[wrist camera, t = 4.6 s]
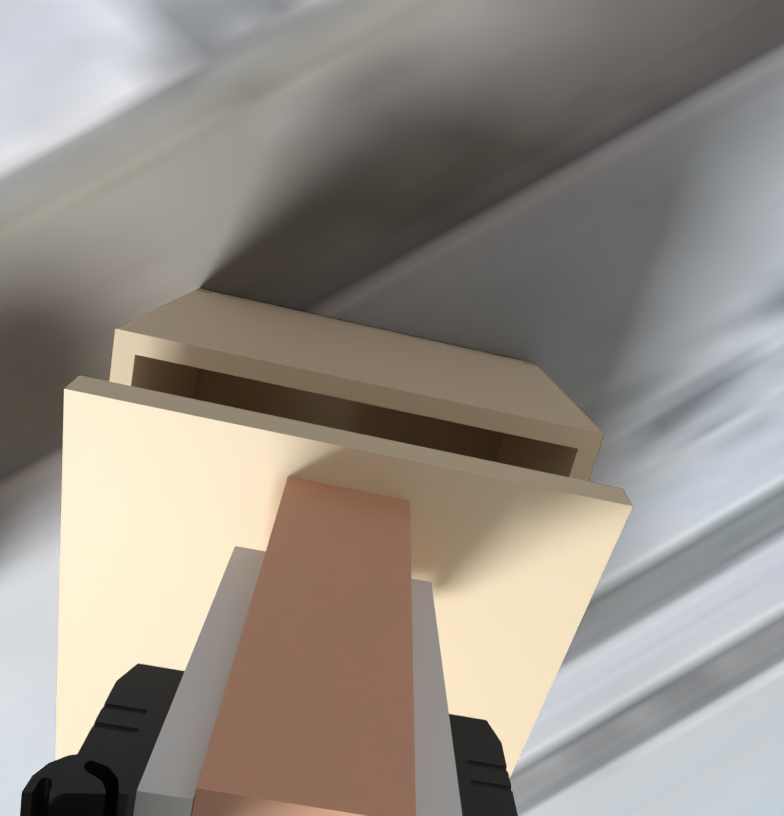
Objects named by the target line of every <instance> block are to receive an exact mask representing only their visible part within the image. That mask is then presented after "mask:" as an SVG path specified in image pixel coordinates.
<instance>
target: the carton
mask: <svg viewBox="0 0 784 816" xmlns="http://www.w3.org/2000/svg"><path fill="white" fill-rule="evenodd" d="M109 382H114V383H119V384H124V385H129V386H133V387H138V388H143V389H148V390H152V391H157V392H162V393H167V394H172V395H176V396H181V397H186V398H191V399H196V400H200V401H205V402H210V403H215V404H220V405H224V406H229V407H234V408H239V409H244V410H248V411H253V412H258V413H263V414H267V415H272V416H277V417H282V418H287V419H291V420H296V421H301V422H306V423H311V424H315V425H320V426H325V427H330V428H335V429H339V430H344V431H349V432H354V433H359V434H363V435H368V436H373V437H378V438H382V439H387V440H392V441H397V442H402V443H406V444H411V445H416V446H421V447H426V448H430V449H435V450H440V451H445V452H450V453H454V454H459V455H464V456H469V457H473V458H478V459H483V460H488V461H493V462H497V463H502V464H507V465H512V466H517V467H521V468H526V469H531V470H536V471H541V472H545V473H550V474H555V475H560V476H565V477H569V478H574V479H579V480H584V481H589V478H590V475H591V472H592V469H593V466H594V463H595V460H596V457H597V454H598V451H599V448H600V445H601V442H602V439H603V436H604V433H603V432H602V431H601V430H600V429H599V428H598V427H597V426H596V425H595V424H594V423H593V422H592V421H591V420H590V419H589V418H588V417H587V416H586V415H585V414H584V413H583V412H582V411H581V410H580V409H579V408H578V407H577V406H576V405H575V404H574V402H573V401H572V400H571V399H570V398H569V397H568V396H567V395H566V394H565V393H564V392H563V391H562V390H561V389H560V388H559V387H558V386H557V385H556V384H555V383H554V382H553V381H552V380H551V379H550V378H549V377H548V376H547V375H546V374H545V373H544V372H543V371H542V370H541V369H540V368H539V367H538V366H537V365H536V364H535V363H532V362H527V361H523V360H519V359H514V358H510V357H505V356H501V355H496V354H492V353H487V352H483V351H478V350H474V349H469V348H465V347H460V346H456V345H451V344H447V343H442V342H438V341H433V340H429V339H424V338H420V337H415V336H411V335H406V334H402V333H397V332H393V331H388V330H384V329H379V328H375V327H370V326H366V325H361V324H357V323H352V322H348V321H343V320H339V319H334V318H330V317H325V316H321V315H316V314H312V313H307V312H303V311H298V310H294V309H289V308H285V307H280V306H276V305H271V304H267V303H262V302H258V301H253V300H249V299H244V298H240V297H235V296H231V295H226V294H222V293H217V292H213V291H208V290H204V289H197V290H194V291H192V292H190V293H188V294H186V295H184V296H182V297H180V298H178V299H176V300H174V301H172V302H170V303H167V304H165V305H163V306H161V307H159V308H157V309H155V310H153V311H151V312H149V313H147V314H145V315H143V316H140V317H138V318H136V319H134V320H132V321H130V322H128V323H126V324H124V325H122V326H120V327H118V328H116V329H115V335H114V344H113V353H112V362H111V371H110V380H109Z"/></svg>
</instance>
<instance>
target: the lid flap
mask: <svg viewBox="0 0 784 816" xmlns="http://www.w3.org/2000/svg"><path fill="white" fill-rule="evenodd" d="M632 507H633V506H632V504H631V502H630V500H629V499H628V497H627V495H626V493H625V491H624V490H623V489H622V488H617V487H612V486H608V485H603V484H598V483H593V482H588V481H584V480H579V479H574V478H569V477H565V476H560V475H555V474H550V473H545V472H541V471H536V470H531V469H526V468H521V467H517V466H512V465H507V464H502V463H497V462H493V461H488V460H483V459H478V458H473V457H469V456H464V455H459V454H454V453H450V452H445V451H440V450H435V449H430V448H426V447H421V446H416V445H411V444H406V443H402V442H397V441H392V440H387V439H382V438H378V437H373V436H368V435H363V434H359V433H354V432H349V431H344V430H339V429H335V428H330V427H325V426H320V425H315V424H311V423H306V422H301V421H296V420H291V419H287V418H282V417H277V416H272V415H267V414H263V413H258V412H253V411H248V410H244V409H239V408H234V407H229V406H224V405H220V404H215V403H210V402H205V401H200V400H196V399H191V398H186V397H181V396H176V395H172V394H167V393H162V392H157V391H152V390H148V389H143V388H138V387H133V386H129V385H124V384H119V383H114V382H109V381H105V380H100V379H95V378H90V377H85V376H81V375H79V376H78V377H77V378H76V379H74V380H73V381H72V382H71V383H70V384H69V385H68V386H67V387H65V388H64V412H63V454H62V496H61V539H60V581H59V623H58V665H57V708H56V750H55V760H58V759H60V758H63V757H65V756H68V755H75V754H78V752H79V750H80V748H81V746H82V745H83V743H84V741H85V739H86V737H87V735H88V733H89V731H90V730H91V728H92V727H93V726H94V723H95V720H96V718H97V716H98V715H99V713H100V711H101V709H102V708H103V707H104V703H105V701H106V700H107V698H108V696H109V694H110V692H111V690H112V688H113V686H114V684H115V683H116V681H117V680H118V679H119V678H121V677H122V676H123V675H124V674H125V673H127V672H128V671H129V670H130V669H132V668H133V667H134V666H135V665H137V664H138V663H139V664H145V665H151V666H157V667H163V668H169V669H175V670H181V671H185V669H186V667H187V664H188V662H189V659H190V657H191V654H192V652H193V649H194V647H195V644H196V642H197V639H198V637H199V634H200V632H201V629H202V627H203V624H204V622H205V619H206V617H207V614H208V612H209V609H210V607H211V604H212V602H213V600H214V597H215V595H216V592H217V590H218V587H219V585H220V582H221V580H222V577H223V575H224V572H225V570H226V567H227V565H228V562H229V560H230V557H231V555H232V552H233V550H234V547H235V546H239V547H244V548H249V549H255V550H260V551H266V552H265V556H264V559H263V563H262V566H261V569H260V573H259V576H258V580H257V583H256V586H255V590H254V593H253V597H252V600H251V603H250V607H249V610H248V614H247V617H246V620H245V624H244V627H243V631H242V634H241V637H240V641H239V644H238V648H237V651H236V654H235V658H234V661H233V665H232V668H231V671H230V675H229V678H228V682H227V685H226V688H225V692H224V695H223V699H222V702H221V705H220V709H219V712H218V716H217V719H216V722H215V726H214V729H213V733H212V736H211V739H210V743H209V746H208V750H207V753H206V756H205V760H204V763H203V767H202V770H201V773H200V777H199V780H198V784H197V787H196V792H195V799H194V805H193V811H192V816H416V796H415V744H414V693H413V641H412V589H411V578H412V579H417V580H423V581H428V582H431V583H432V590H433V598H434V606H435V613H436V621H437V628H438V636H439V643H440V651H441V658H442V666H443V673H444V681H445V688H446V696H447V704H448V711H449V714H453V715H459V716H465V717H471V718H477V719H483V720H487V721H488V723H489V725H490V726H491V728H492V729H493V731H494V732H495V734H496V735H497V737H498V738H499V740H500V741H501V743H502V747H503V752H504V756H505V761H506V765H507V768H506V771H508V774H509V778H510V776H511V774H512V772H513V769H514V767H515V765H516V763H517V761H518V758H519V756H520V754H521V752H522V750H523V747H524V745H525V743H526V741H527V739H528V736H529V734H530V732H531V730H532V728H533V725H534V723H535V721H536V719H537V717H538V714H539V712H540V710H541V708H542V705H543V703H544V701H545V699H546V697H547V694H548V692H549V690H550V688H551V686H552V683H553V681H554V679H555V677H556V675H557V672H558V670H559V668H560V666H561V664H562V661H563V659H564V657H565V655H566V653H567V650H568V648H569V646H570V644H571V641H572V639H573V637H574V635H575V633H576V630H577V628H578V626H579V624H580V622H581V619H582V617H583V615H584V613H585V611H586V608H587V606H588V604H589V602H590V600H591V597H592V595H593V593H594V591H595V589H596V586H597V584H598V582H599V580H600V577H601V575H602V573H603V571H604V569H605V566H606V564H607V562H608V560H609V558H610V555H611V553H612V551H613V549H614V547H615V544H616V542H617V540H618V538H619V536H620V533H621V531H622V529H623V527H624V525H625V522H626V520H627V518H628V516H629V513H630V511H631V509H632Z"/></svg>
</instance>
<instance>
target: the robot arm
mask: <svg viewBox="0 0 784 816" xmlns="http://www.w3.org/2000/svg"><path fill="white" fill-rule="evenodd" d="M265 552H266V551H260V550H255V549H249V548H244V547H239V546H235V547H234V550H233V552H232V555H231V557H230V560H229V562H228V565H227V567H226V570H225V572H224V575H223V577H222V580H221V582H220V585H219V587H218V590H217V592H216V595H215V597H214V600H213V602H212V604H211V607H210V609H209V612H208V614H207V617H206V619H205V622H204V624H203V627H202V629H201V632H200V634H199V637H198V639H197V642H196V644H195V647H194V649H193V652H192V654H191V657H190V659H189V662H188V664H187V667H186V669H185V671H181V670H175V669H169V668H163V667H157V666H151V665H145V664H139V663H138V664H137V665H135V666H134V667H133V668H132V669H130V670H129V671H128V672H127V673H125V674H124V675H123V676H122V677H121V678H119V679H118V680H117V681H116V683H115V684H114V686H113V688H112V690H111V692H110V694H109V696H108V698H107V700H106V701H105V703H104V707H103V708H102V709H101V711H100V713H99V715H98V716H97V718H96V720H95V723H94V726H93V727H92V728H91V730H90V731H89V733H88V735H87V737H86V739H85V741H84V743H83V745H82V746H81V748H80V750H79V752H78V754H75V755H68V756H65V757H63V758H60V759H58V760H55V761H53V762H51V763H48V764H47V765H46V766H45V767H43V768H42V769H41V770H39V771H38V772H37V773H36V774H34V775H33V776H32V777H31V779H30V781H29V782H28V784H27V785H26V787H25V788H24V790H23V791H22V798H21V812H20V816H192V811H193V805H194V799H195V792H196V787H197V784H198V780H199V777H200V773H201V770H202V767H203V763H204V760H205V756H206V753H207V750H208V746H209V743H210V739H211V736H212V733H213V729H214V726H215V722H216V719H217V716H218V712H219V709H220V705H221V702H222V699H223V695H224V692H225V688H226V685H227V682H228V678H229V675H230V671H231V668H232V665H233V661H234V658H235V654H236V651H237V648H238V644H239V641H240V637H241V634H242V631H243V627H244V624H245V620H246V617H247V614H248V610H249V607H250V603H251V600H252V597H253V593H254V590H255V586H256V583H257V580H258V576H259V573H260V569H261V566H262V563H263V559H264V556H265ZM411 589H412V641H413V693H414V744H415V796H416V816H518V815H517V811H516V806H515V801H514V797H513V792H512V791H511V783H510V779H509V774H508V771H506V768H507V765H506V761H505V756H504V752H503V747H502V743H501V741H500V740H499V738H498V737H497V735H496V734H495V732H494V731H493V729H492V728H491V726H490V725H489V723H488V721H487V720H483V719H477V718H471V717H465V716H459V715H453V714H449V711H448V704H447V696H446V688H445V681H444V673H443V666H442V658H441V651H440V643H439V636H438V628H437V621H436V613H435V606H434V598H433V590H432V583H431V582H428V581H423V580H417V579H412V578H411Z"/></svg>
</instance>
